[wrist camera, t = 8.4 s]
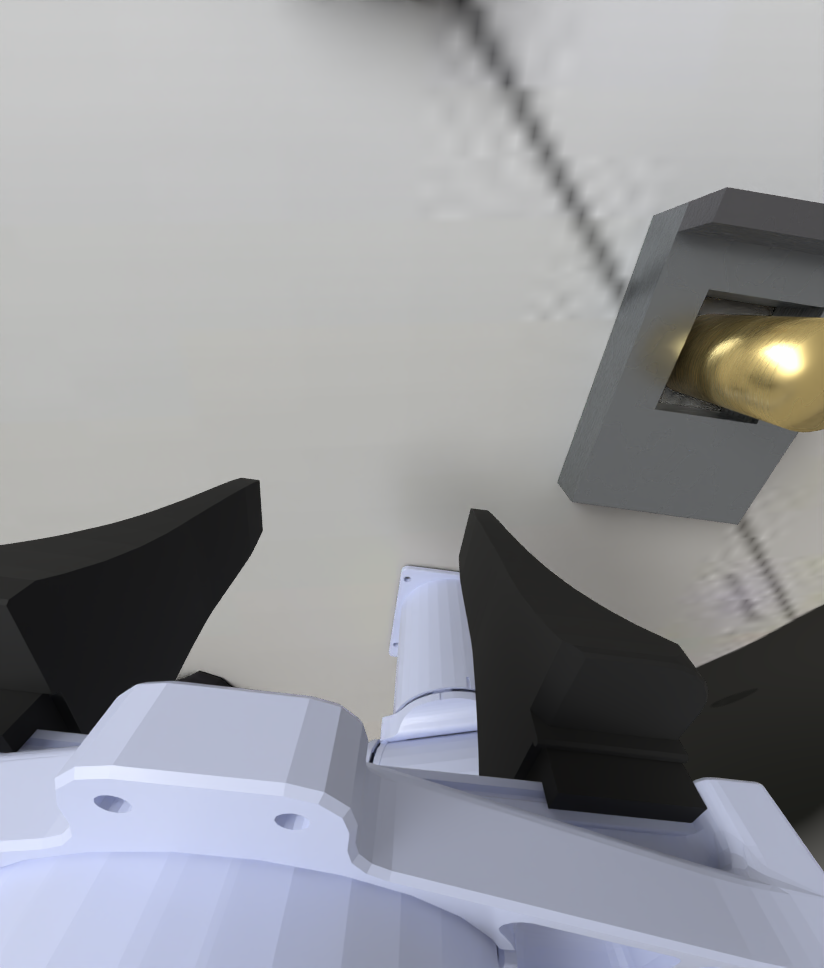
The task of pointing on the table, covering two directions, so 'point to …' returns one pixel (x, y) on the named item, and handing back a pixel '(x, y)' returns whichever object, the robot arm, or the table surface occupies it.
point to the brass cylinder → (756, 367)
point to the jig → (658, 342)
